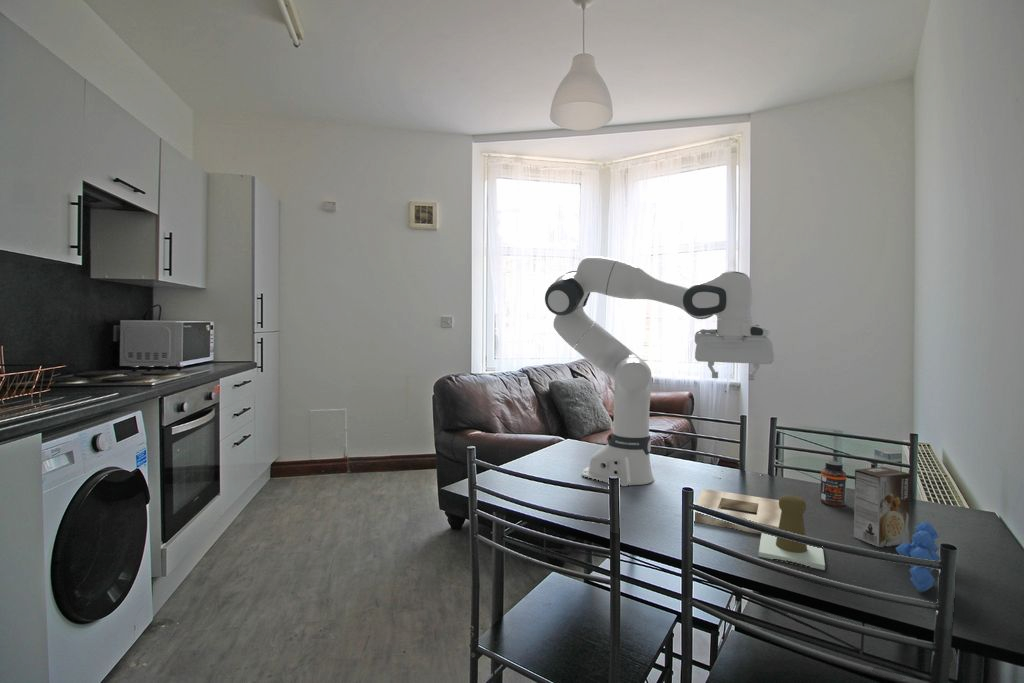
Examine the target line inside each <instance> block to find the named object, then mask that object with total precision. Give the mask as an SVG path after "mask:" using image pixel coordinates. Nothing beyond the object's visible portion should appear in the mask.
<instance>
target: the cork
mask: <svg viewBox="0 0 1024 683" xmlns="http://www.w3.org/2000/svg"><path fill="white" fill-rule="evenodd" d="M778 500H779V507H780V509H781V510H782V511H781V516H780V522H779V528H778V529H781V530H785V531H790V532H793V533H797V534H801V535H805V536H806V530H805V522H804V514H805V512H806V509H807V504H806V501H805V500H804V499H803V498H802V497H800V496H797V495H793V494H792V495H790V494H784V495H782V496H780V497H779V499H778ZM776 546H777V547H779V548H780V549H782V550H785V551H788V552H793V553H804V552H806V551H807V545H805V544H802V543H798V542H794V541H790V540H786V539H783V538H779V537H777V539H776Z"/></svg>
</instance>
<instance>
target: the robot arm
mask: <svg viewBox="0 0 1024 683" xmlns="http://www.w3.org/2000/svg"><path fill="white" fill-rule="evenodd" d="M752 286H753V285H752V280H751V278H750V276H748V275H747V274H746V273H745V272H741V271H734V270H724V271H721V272H720V273H719V274H718V275H715V276H714V277H712V278H710V279H708V280H705V281H703V282H700V283H696V284H694V285H692V286H689V287H688V286H687V287H686V286H682V285H679V284H678V285H677V284H674V283H670V282H667V281H663V280H660V279H657V278H655V277H653V276H652V275H650V274H649V273H647V272H646V271H644V269H641V268H640V267H638V266H636V265H634V264H632V263H629V262H626V261H624V260H619V259H616V258H612V257H605V256H594V255H593V256H592V255H588V256H586V257H584V258H582V260H581V261H580V262H579V264H578V266H577V269H576V270H572V271H568V272H566V273H565V274H563V275H561V276H559V277H558V278H557V279H556V280H555V281H554V282H553V283H551V284H550V285H549V286H548V288H547V290H546V292H545V293H544V294H545V296H544V303H545V305H546V308H547V309H548V311H550V312H551V313H552V314H554V315H555V317H554V319H553V328H554V329H555V332H556V333H557V334H558V335H559V336H560V337H561V338H562V339H563V341H565V343H567V344H568V345H569V347H571V348H573V350H575V351H576V352H577V353H579V354H580V356H582V357H583V358H584V359H586V360H587V361H588V362H589V363H591V364H592V365H594V367H596V368H597V369H599V370H600V371H602V372H603V373H604V374H606V375H607V376H608V377H610V378H611V379H612V380H613V381H614V383H613V384H614V386H613V387H614V388H613V389H614V391H613V396H614V397H613V431H612V430H611V432H609V434H607V436H606V441H607V444H606V445H604V446H602V448H600V449H598V450H596V452H593V454H592V455H591V458H590V460H589V465H588V466H587V467H585V468H584V469H583V470H582V471H581V476H582V475H583V476H585V477H588V478H587V479H589V478H592V479H591V480H594V479H596V480H595V481H598V480H599V482H602V481H603V482H602V483H606V484H609V483H608V477H609V476H617V477H619V478H620V484H621V487H628V485H629V486H637V485H638V486H639V485H647V484H651V483H653V482H654V481H655V478H654V475H653V470H652V466H651V458H650V457H651V456H650V453H651V450H652V449H651V447H652V443H651V442H652V441H651V435H650V408H651V407H650V406H651V393H652V370H651V368H650V366H649V365H648V364H647V363H646V362H645V361H644V360H643V359H642V358H641V357H639V355H637V354H636V353H635V352H634V351H632V350H631V349H630V348H628V347H627V346H626V345H625V344H623V343H622V342H621V341H620V340H618V339H617V338H615V337H614V336H613V335H612V334H611V333H609V332H608V331H607V330H606V329H604V328H603V327H602V326H601V325H600V324H599V323H597V322H596V321H595V320H594V319H592V318H591V317H590V316H589V315H588V314H586V312H585V311H584V307H586V306H587V302H588V300H589V297H590V295H591V293H596V294H597V293H598V294H602V295H604V296H608V297H612V298H615V299H616V298H618V299H626V300H648V301H656V302H659V303H661V304H667V305H669V306H674V307H677V308H679V309H681V310H683V311H684V312H685V313H687V314H688V315H689V316H690V317H692V318H694V319H697V320H707V319H709V318H711V317H713V316H716V318H717V320H716V329H713V328H712V329H704V328H703V329H699V330H698V331H696V332H695V334H694V343H695V351H694V359H695V360H696V362H703V363H707V367H708V368H709V370H710V372H711V378H712V379H718V378H719V371H716V370H715V368H714V366H715V363H725V364H726V363H730V364H731V363H732V364H752V365H753V368H754V370H753V372H749V373H748V380H749V381H755V379H756V373H757V372H758V370H759V369H760V365H772V364H773V363H774V362H775V350H774V345H773V341H772V340H771V338H770V337H769V336H770V329H769V328H768V327H763V326H760V324H753V323H752V318H753V317H752V313H751V308H752V305H753V288H752ZM583 476H582V477H583ZM585 477H584V478H585Z"/></svg>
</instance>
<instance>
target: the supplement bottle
mask: <svg viewBox="0 0 1024 683" xmlns="http://www.w3.org/2000/svg"><path fill="white" fill-rule="evenodd" d="M843 465H844V464H843V463H841V462H838V461H834V460H832V461H831V460H828V461H827V460H826V461H825V465H824V466H825V467H824V468H822V469H821V472H820V488H819V489H820V492H819V500H820V501H821V502H822V503H823V504H825V505H828V506H832V507H843V506H845V505H846V495H847V494H846V492H847V488H846V487H847V474H846V472H845V471H844V470H843V468H844V467H843ZM837 474H838V475H843V476H838V475H837Z"/></svg>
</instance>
